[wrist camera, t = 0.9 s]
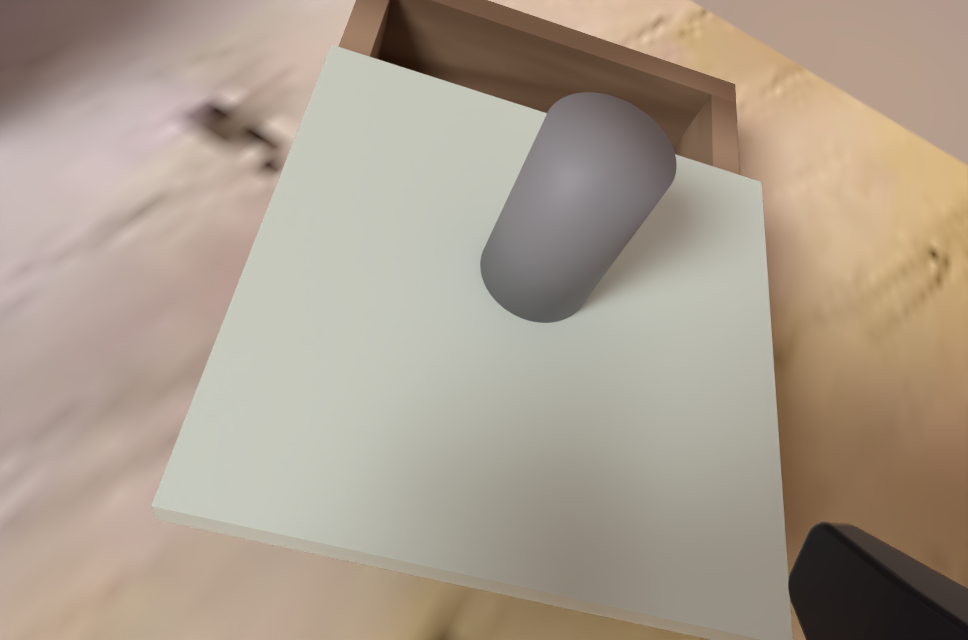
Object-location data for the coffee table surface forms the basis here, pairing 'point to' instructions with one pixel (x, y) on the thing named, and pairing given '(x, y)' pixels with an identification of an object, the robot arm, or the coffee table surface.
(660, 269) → the box lid
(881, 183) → the coffee table surface
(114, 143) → the coffee table surface
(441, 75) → the walnut box
